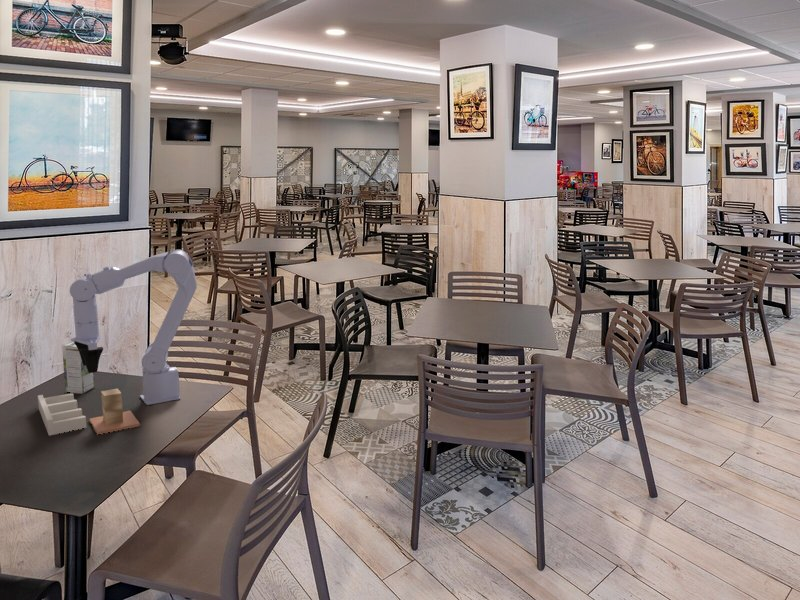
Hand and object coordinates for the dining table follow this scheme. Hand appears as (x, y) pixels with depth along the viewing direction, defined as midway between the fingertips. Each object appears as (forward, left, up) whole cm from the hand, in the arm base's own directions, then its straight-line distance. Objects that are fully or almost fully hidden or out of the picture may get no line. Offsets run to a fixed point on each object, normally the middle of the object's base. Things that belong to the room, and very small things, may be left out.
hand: (90, 368), depth 163 cm
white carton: (+1, -13, -11) cm, 17 cm away
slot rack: (+9, +7, -10) cm, 15 cm away
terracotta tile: (-2, +18, -10) cm, 21 cm away
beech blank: (-2, +18, -10) cm, 20 cm away
